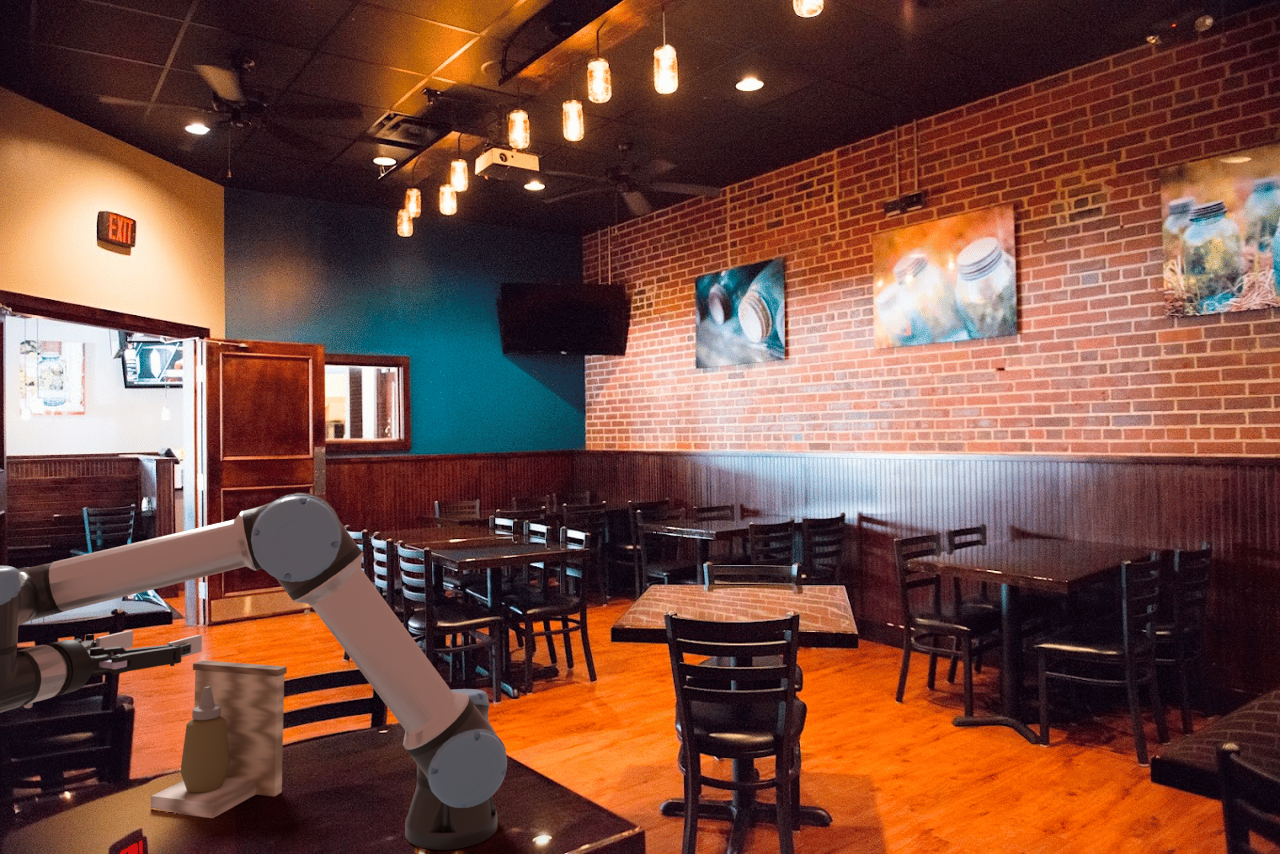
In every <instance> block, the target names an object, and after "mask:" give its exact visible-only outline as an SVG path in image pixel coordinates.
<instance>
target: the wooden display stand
mask: <svg viewBox="0 0 1280 854" xmlns="http://www.w3.org/2000/svg"><path fill="white" fill-rule="evenodd" d="M287 668H288V667H287V666H285V665H284V666H282V665H272V664H271V665H267V664H255V663H242V662H241V663H239V662H229V661H215V660H200V661H196V662H194V663H192V671H194V703H193V704H194V705H193V706H194V708H195V707H198V706H199V705H200V701H201V697H202V693H203V689H204V687H211V690H212V694H213V699H214V704H216V705H220V706H221V715H220V716H222V717H223V718H225V719H226V724H227V736H228V748H229V760H230V765H229V768H228V771H227V774H226V777H225V779H224V782H223V785H222V786H221V787H220V788H218V789H215V790H212V791H208V792H201V793H193V792H189V791H187V789H186V787H185V784H184V781H183V780H182V781H179V782H178V783H176V784H173V785H171V786H169V787H167V788H165V789H163V790H161V791H158V792H156V793H155V794H152V795H150V809H151V808H156V809H161V810H165V811H169V812H174V813H173V814H176V813H178V815H183V816H193V817H200V818H209V819H214V818H215V817H218V816H220V815H221V814H223V813H225V812H227V811H229V810H230V809H232V808H234V807H235V806H237V805H239V804H241V803H243V802H245V801H247V800H248V799H250V798H252V797H254V796H255V795H259V796H266V797H276V796H278V795H279V794H281V793H282V791H283V788H282V787H283V755H284V753H283V749H284V748H283V746H284V745H283V743H284V742H283V739H284V708H285V707H284V706H285V705H284V701H285V697H284V695H285V674H288V669H287ZM282 794H283V793H282Z"/></svg>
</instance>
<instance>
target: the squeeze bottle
mask: <svg viewBox="0 0 1280 854" xmlns="http://www.w3.org/2000/svg"><path fill="white" fill-rule="evenodd" d="M220 715H221V706H220V705H216V704H214V699H213V694H212V690H211V687H204V689H203V693H202V697H201V701H200V705H199V706H198V707H195V708H192V715H191V716H192V719H190V720H189V721H188V722H187V723H186V724H185V725H186V727H185V734H184V740H183V741H184V742H183V749H182V750H183V751H182V758H181V763H180V769H179V771H180V774H181V778H182V781H184V784H185V787H186V789H187V791H189V792H193V793H201V792H208V791H212V790H215V789H218V788H220V787H221V786H222V785H223V782H224V779H225V777H226V774H227V771H228V768H229V765H230V760H229V748H228V736H227V724H226V719H225V718H223V717H222V716H220Z"/></svg>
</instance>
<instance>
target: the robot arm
mask: <svg viewBox="0 0 1280 854" xmlns="http://www.w3.org/2000/svg"><path fill="white" fill-rule="evenodd" d="M363 556H364V552H363V551H362V550H361V548H360V546H359V545H358V544H357V543H356V541H355V540H354V539H353V536H351V535H350V533H349V531H348V530H347V528H345V525H343V523H342V521H340V519H339V516H338V514H337V512H336V510H335V508H334V507H333V505H331V504H330V502H328V501H327V500H326V499H324V498H323V497H320V496H319V495H317V494H313V493H310V492H308V493H307V492H295V493H291V494H286V495H284V496H280V497H279V498H277V499H275V500H273V501H272V502H269V503H266V504H264V505H260V506H258V507H253V508H250V509H246V510H241V511H239V514H238V515H237V516H236V518H234V519H231V520H226V521H222V522H218V523H217V522H216V523H212V524H208V525H205V526H201V527H197V528H192V529H188V530H184V531H180V532H176V533H172V534H171V533H170V534H167V535H162V536H158V537H154V538H149V539H146V540H145V539H144V540H142V541H137V542H136V541H135V542H132V543H127V544H124V545H121V546H116V547H111V548H108V549H102V550H98V551H94V552H89V553H87V554H82V555H77V556H73V557H70V558H69V557H68V558H66V559H59V560H56V561H52V562H50V563H44V564H40V565H36V566H31V567H27V566H25V567H21V568H16V567H13V566H9V565H0V714H1V713H4V712H7V711H11V710H14V709H17V708H21V707H23V708H24V709H31V708H32V707H33V703H36V702H40V701H44V700H47V699H51V698H56V697H59V696H62V695H66V694H69V693H73V692H77V691H78V690H80V689H81V688H82V687H84V686H85V685H86V683H87V682H88V680H89V679H90V678H91V677H93V676H101V675H103V674H104V673H110V674H111V675H114V676H117V675H119V674H124V673H128V672H132V671H138V670H144V669H150V668H156V667H162V666H167V665H168V666H170V667H175V664H176V665H177V664H181V663H182V658H184V657H188V656H193V655H196V654H198V653H201V652H202V646H203V645H202V641H203V634H196V635H192V636H188V637H183V638H181V639H177V640H176V639H175V640H172V641H170V642H167V643H166V644H162V645H154V646H153V645H151V646H145V647H136V648H133V646H134V645H133V644H134V630H130V629H129V630H125V631H121V632H116V633H111V634H109V635H108V634H107V635H103V636H98V637H96V638H95V634H94V633H91V634H90V633H88V634H85V637H84V639H85V640H84V641H83V642H82V639H80V638H74V639H64V640H60V641H54V642H50V643H47V644H40V645H36V646H32V647H27V648H24V649H19V650H18V640H19V637H18V635H19V633H18V632H19V626H21V625H23V624H25V623H27V622H31V621H34V620H38V619H42V618H45V617H50V616H54V615H58V614H61V613H64V612H68V611H72V610H75V609H79V608H84V607H88V606H92V605H96V604H99V603H104V602H108V601H111V600H115V599H120V598H124V597H128V596H131V595H132V596H133V595H136V594H140V593H144V592H149V591H152V590H155V589H156V590H157V589H160V588H164V587H169V586H173V585H177V584H179V583H184V582H188V581H193V580H197V579H202V578H204V577H209V576H213V575H217V574H221V573H225V572H228V571H229V572H230V571H232V570H236V569H241V568H245V567H247V568H249V569H250V570H253V571H259V570H264V571H265V572H266V573H267V574H269V575H270V576H271V577H274V578H275V580H277V582H278V583H279V584H280V586H281V587H282V589H284V591H285V592H286V593H287V594H288V596H289V597H290V599H291V600H292V601H293V602H294V603H297V604H298V603H299V604H307V605H309V606H310V607H312V609H313V610H314V612H315V613H316V614H317V616H319V618H320V620H321V621H322V622H323V624H324V625H325V626H326V628H327V629H328V630H329V632H330V633H331V634H332V636H334V638H335V640H336V641H337V642H338V644H339V645H340V646H341V647H342V648H343V650H344V651H345V652H346V654H347V655H348V657H349V658H350V659H351V660H352V661H353V663H354V664H355V666H356V667H357V669H358V670H359V671H360V672H361V674H362V675H363V676H364V678H365V679H366V681H368V683H369V685H370V686H371V687H372V688H373V690H374V691H375V692H376V694H377V695H378V696H379V698H380V699H381V700H382V701H383V703H384V704H385V706H386V707H387V708H388V709H389V711H390V712H391V713H392V715H393V716H394V717H395V719H396V720H397V721H398V722H399V724H400V725H401V727H402V729H404V732H405V733H404V735H403V736H404V737H403V743H402V745H403V747H404V749H405V750H406V751H407V753H408V754H409V756H410V757H411V759H413V761H414V762H415V763H416V788H415V791H414V794H413V797H412V800H411V802H410V803H411V804H410V806H409V810H408V813H407V816H406V817H405V823H404V825H405V826H404V827H405V829H404V831H405V832H404V836H405V839H406V840H407V841H408V842H409V843H410V844H412V845H413V846H416V847H418V848H421V849H422V848H423V849H426V850H427V849H428V850H434V851H435V850H437V851H438V850H439V851H448V850H457V849H464V848H468V847H471V846H476V845H478V844H481V843H482V842H484V841H485V842H486V840H489V839H490V838H491V837H492V836H494V835H495V833H496V832H497V829H498V811H497V808H496V804H495V801H494V799H493V795H494V794H495V793H496V792H497V791H498V790H499V788H500V787H501V785H502V784H503V782H504V780H505V777H506V773H507V769H508V757H507V752H506V750H507V749H506V746H505V744H504V742H503V741H502V739H501V738H500V737H499V736H498V735H497V733H496V730H495V729H494V728H493V726H492V724H491V723H490V720H489V708H490V702H489V695H488V693H487V692H486V691H485V690H482V689H475V688H474V689H473V688H461V689H460V688H458V689H451V688H450V687H449V685H448V684H447V683H446V681H445V680H444V679H443V678H442V676H441V674H440V673H439V672H438V670H436V668H435V666H433V664H432V662H431V661H430V660H429V659H428V657H427V655H425V653H424V652H423V650H422V649H421V648H420V646H419V645H418V644H417V642H416V641H415V639H414V638H413V636H412V635H411V634H410V632H409V631H408V630H407V629H406V627H405V626H404V625H403V623H402V622H401V620H400V619H399V618H398V616H397V614H395V612H394V611H393V609H392V608H391V607H390V605H389V604H388V603H387V602H386V600H385V599H384V597H383V596H382V595H381V593H380V592H379V591H378V589H377V588H376V586H375V585H374V583H372V581H371V580H370V578H369V577H368V576H367V574H366V573H365V572H364V570H363V569H362V561H363ZM114 653H117V654H116V655H114Z"/></svg>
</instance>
